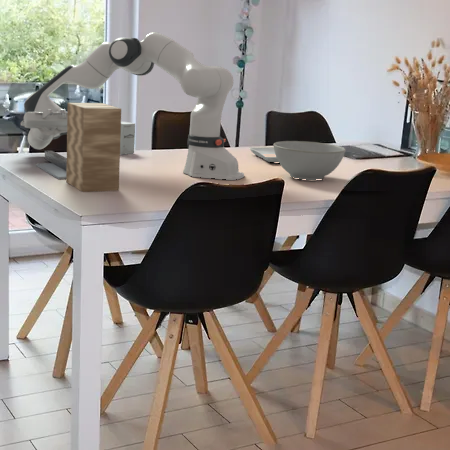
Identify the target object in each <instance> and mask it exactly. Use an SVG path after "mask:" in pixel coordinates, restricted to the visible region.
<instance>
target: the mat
mask: <svg viewBox="0 0 450 450" xmlns="http://www.w3.org/2000/svg"><path fill="white" fill-rule="evenodd" d="M35 165H36V167H38V168H39V169H40V170H42V171H44V172H46V173H47V174H49V175H51V176H52V177H54V178H55V179H57V180H66V172H67V171H65V170H63V169H62V168H60V167H58V166H56V165H55V164H53V163H51V162H47V163H45V162H44V163H36V164H35Z"/></svg>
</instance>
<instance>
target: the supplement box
mask: <svg viewBox="0 0 450 450" xmlns="http://www.w3.org/2000/svg"><path fill="white" fill-rule="evenodd" d="M135 137H136V123H134V122H128V121H121V137H120V156H122V155H130V154H131V155H132V154H133V153H134V154H135V139H136V138H135Z"/></svg>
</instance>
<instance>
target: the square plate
mask: <svg viewBox="0 0 450 450" xmlns="http://www.w3.org/2000/svg"><path fill="white" fill-rule="evenodd" d="M248 150H250V151H251V153H253V154H254V155H255V156H257V157H259V158H260V157H261V158H260V159H262V158H263V160H264V161H266V162H267V163H270V162H279V161H278V159H277V157H265V156H264V155H263V154H275V151H274V147H273V146H272V147H266V146H265V147H264V146H263V147H251V146H250V147H248Z"/></svg>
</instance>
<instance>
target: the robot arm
mask: <svg viewBox="0 0 450 450" xmlns="http://www.w3.org/2000/svg"><path fill="white" fill-rule="evenodd" d="M194 55H195V54H194V53H193V52H192V51H191V50H189V49H187V48H186V47H184V46H183V45H182V44H180V43H179V42H177V41H175V40H173V38H170V37H168V36H167V35H165V34H162V33H160V32H156V31H153V32H150V33H148V34H147V35H146V36H145V37H144V38H143V40H139V39H138V38H136V37H118V38H116V39H114V40H113V41H112V42H111V41H104V42H102V43H101V44H100V45H98V46H97V47H96V48H95V49H94V50H93V51H92V52H91V53H90V54H89V55H88V56H86V58H85V60H83V61H82V62H81V63H79V64H76V65H75V64H69V65H68V66H66V67H64V68H63V69H62V70H60V71H59V72H58V73H57V74H56V75H55V76H54V77H52V78H51V79H49V81H47V82H46V83H45V84H44V85H42V87H41V88H39V89H38V90H36V91H35V92H33V93H32V94H31V93H30V95H29V96H28V97H27V98H26V99H25V101H24V104H23V106H24V110H25V113H24V115H23V120H22V121H21V122H20V126H22V127H24V128H26V129H30V130H29V132H28V135H27V142H28V144H29V145H30V146H31V147H32V148H33V149H35V150H42V149H44V148H46V147H47V146H48V145H50V143H51V142H52V141H53V140H56V139H59V138H60V137H61V136H64V135H67V113H68V111H67V109H65V108H64V109H63V108H62V107H60V106H59V105H58V104H57V103H56V102H54V101H53V100H52V99H51V98H50V95H51V94H52V93H53V92H55V91H56V90H57V89H58V88H59V87H61V86H62V85H64V84H65V83H68V84H70V83H71V84H74V85H77V86H79V87H82V88H85V89H88V90H90V89H91V90H94V89H95V90H96V89H98V88H101V87H102V86H103V85H104V84H105V83H106V82H107V81H108V80H109V78H110V77H112V75H113V74H114V72H116V71H117V70H119V69H123V70H124V71H126V72H128V73H130V74H132V75H135V76H141V77H142V76H146V75H148V74H150V73H151V72H152V70H153V69H154V66H157V67H159V68H160V69H162V70H163V71H164V72H166V73H167V74H169V75H170V76H172V77H173V78H174V79H175V80H176V81H177V82H178V83H179V84H180V87H181V90H182V91H183V92H184V93H185V94H186V95H187V96H190V97H193V98H197V101H196V103H195V106H194V108H193V109H192V111H191V112H190V120H189V121H190V123H189V124H190V125H189V134H188V135H187V137H188V138H187V156H186V161H185V165H184V169H183V173H184V174H186V175H188V176H189V177H191V176H192V177H193V178H200V177H201V178H202V179H211V178H215V180H222V179H226V180H225V181H237V180H240V179H243V178H245V173H244V172H241V171H239V162H238V159H237V157H235V156H234V155H233V154H232V153H231V152H230V151H229V150H228V149H227V148H225V142H226V140H227V139H226V138H223V137H222V136H221V120H222V115H223V110H224V107H225V103H226V100H227V96H228V95H229V93H230V91H231V90H232V88H233V86H234V76H233V75H232V73H231V71H229V70H228V69H227V68H225V67H222V66H219V65H209V66H208V65H205V64H203V63H201V62H199V61H198V60H197V59H196V58H195V56H194ZM236 179H237V180H236Z"/></svg>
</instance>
